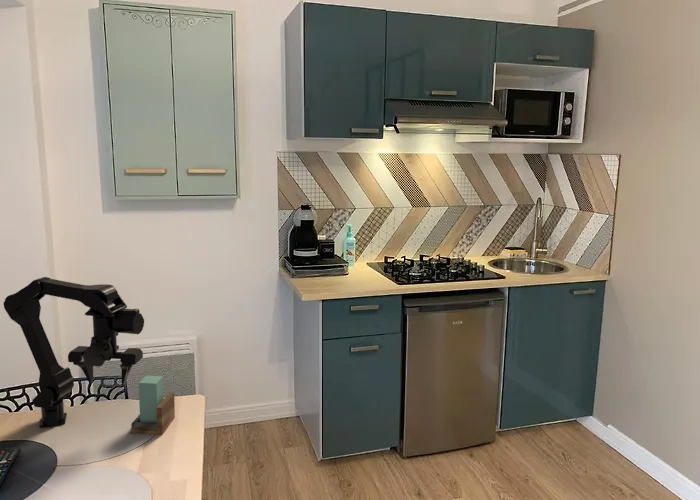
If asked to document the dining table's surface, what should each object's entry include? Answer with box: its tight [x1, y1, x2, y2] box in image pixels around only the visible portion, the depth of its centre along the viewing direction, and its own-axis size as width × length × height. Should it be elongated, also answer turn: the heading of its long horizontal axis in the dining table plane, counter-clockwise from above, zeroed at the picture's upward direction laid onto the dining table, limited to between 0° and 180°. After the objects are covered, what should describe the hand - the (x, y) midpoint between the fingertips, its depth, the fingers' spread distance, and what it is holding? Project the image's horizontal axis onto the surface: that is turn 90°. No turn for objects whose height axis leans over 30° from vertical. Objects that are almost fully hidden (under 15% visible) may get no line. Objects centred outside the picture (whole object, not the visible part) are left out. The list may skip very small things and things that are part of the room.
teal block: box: [138, 375, 165, 423], centre depth 155 cm, size 5×5×13 cm
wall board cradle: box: [130, 391, 176, 436], centre depth 156 cm, size 9×10×8 cm
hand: (107, 384), depth 152 cm, fingers open, 9 cm apart
